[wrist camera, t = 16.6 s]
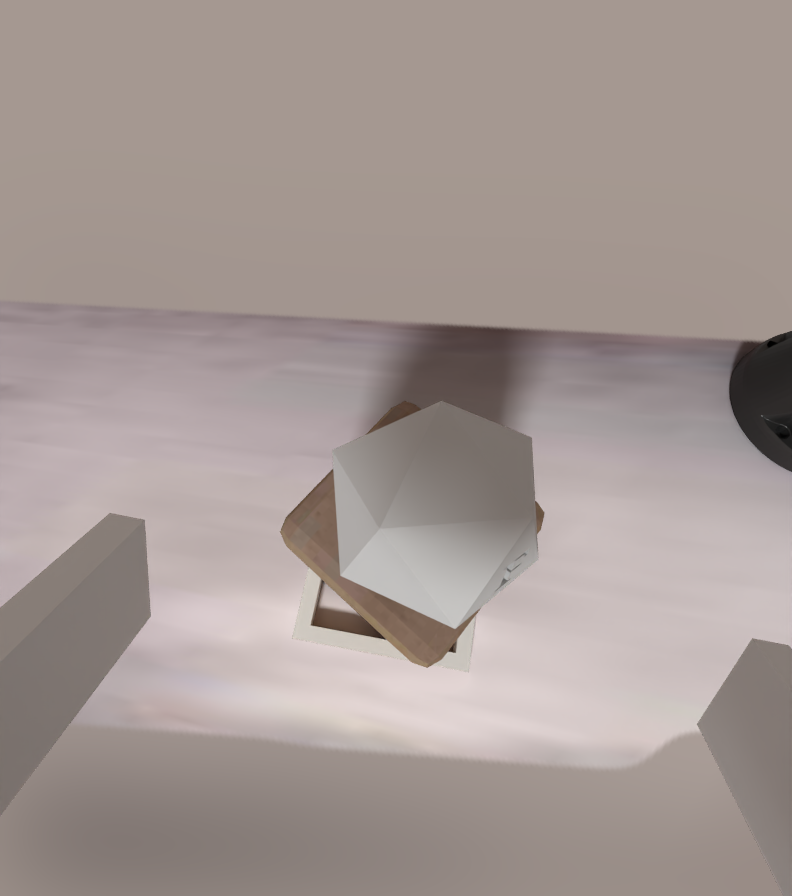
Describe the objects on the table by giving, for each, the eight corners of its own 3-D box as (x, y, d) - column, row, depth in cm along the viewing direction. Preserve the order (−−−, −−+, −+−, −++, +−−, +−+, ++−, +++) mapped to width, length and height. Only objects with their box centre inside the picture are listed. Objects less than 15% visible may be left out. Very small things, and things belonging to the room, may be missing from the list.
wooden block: (476, 560, 43) (559, 510, 24) (402, 654, 40) (430, 679, 21) (390, 486, 45) (404, 387, 26) (313, 571, 42) (267, 528, 23)
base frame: (485, 503, 45) (488, 499, 44) (465, 670, 40) (468, 672, 39) (332, 474, 45) (331, 470, 44) (294, 637, 40) (291, 638, 39)
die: (332, 621, 23) (488, 707, 15) (265, 446, 21) (400, 440, 13) (454, 537, 27) (622, 569, 19) (407, 388, 25) (571, 357, 18)
